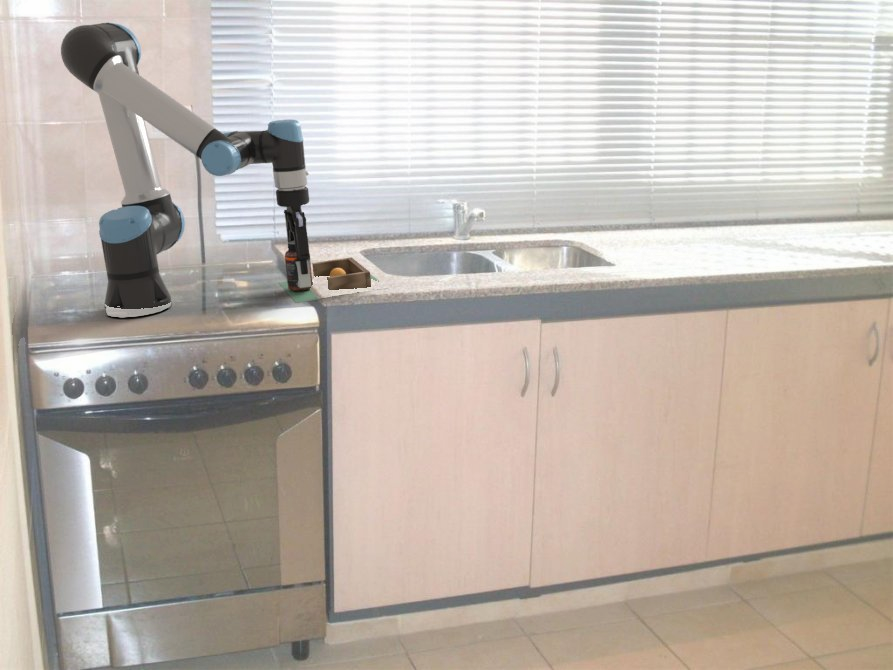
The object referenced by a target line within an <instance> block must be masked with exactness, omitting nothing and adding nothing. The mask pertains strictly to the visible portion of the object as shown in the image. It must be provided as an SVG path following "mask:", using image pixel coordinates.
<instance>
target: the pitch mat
mask: <svg viewBox="0 0 893 670" xmlns="http://www.w3.org/2000/svg"><path fill="white" fill-rule="evenodd" d="M370 278H371V279H373V280H375V281H377V280H378V282H379V281H380V280H379V279H377V278H376V277H375V276H373V274H371V273H370ZM279 285H280V286H281V287H282V288H283V289H284V291H285V292H286V293H287V294H288V295H289V296H290V298H291V299H292V301H294V302H295V303H296V304H297V303H298V304H299V303H303V302H310V301H311V302H312V301H318V300H319V299H318V298H317V297H316V296H315V295H314V293H313V292H312V291H311V290H310V289H307V290H302V291H293V290H290V289H289V288H288V282H287V281H283V282H279Z"/></svg>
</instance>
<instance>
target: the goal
mask: <svg viewBox="0 0 893 670" xmlns="http://www.w3.org/2000/svg"><path fill="white" fill-rule="evenodd" d="M311 267H312V276H313V277H314V276H315V277H316V276H318V277H319V276H330V272H331V271H332V270H333V269H335V268H341V269H343V270H344V271H345V273H346V274H345V275H339V276H332V277H327V280H328V289H329V290H339V289H354V288H355V289H357V288H367V287H371V278H370V274H371V271H369V270H368V269H366V268H365V267H364V266H363V265H362V264H361V263H359V262H358V261H357V260H355V259H354V258H353V256H350V257H345V258H338V259H331V260H325V261H319V262H318V261H317V262H311Z"/></svg>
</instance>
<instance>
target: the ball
mask: <svg viewBox="0 0 893 670" xmlns="http://www.w3.org/2000/svg"><path fill="white" fill-rule="evenodd" d="M345 274H346V273H345V271H344V270H343V269H341V268H335V269H333V270H332V271H331V272H330V277H332V276H339V275H345Z"/></svg>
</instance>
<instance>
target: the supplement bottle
mask: <svg viewBox="0 0 893 670" xmlns="http://www.w3.org/2000/svg"><path fill="white" fill-rule="evenodd" d="M288 248H289V249H288ZM287 249H288V250H287V251H286V252H285V253H284V260H285V261H284V262H285V270H286V271H285V272H286V280H287V281H286V282H288V288H289V289H290V290H293V291H302V290H307V289H310V288H311V287H304V288H300V287H299V279H298V270H297V262H295V261H294V259H297V253H296V247H295V241H291V242H288V241H287ZM309 253H310V251H309ZM310 254H311V253H310ZM302 255H303V254H302ZM308 261H309V270H310V279H311V286H312V285H313V282H312V278H313V271H312V262H311V258H310V259H309V260H308Z"/></svg>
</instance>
